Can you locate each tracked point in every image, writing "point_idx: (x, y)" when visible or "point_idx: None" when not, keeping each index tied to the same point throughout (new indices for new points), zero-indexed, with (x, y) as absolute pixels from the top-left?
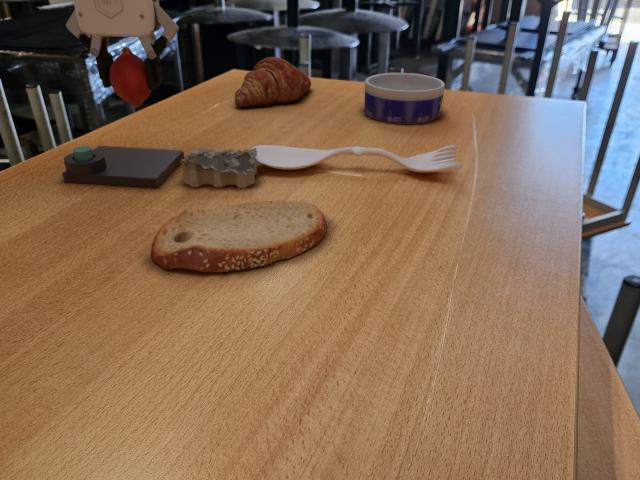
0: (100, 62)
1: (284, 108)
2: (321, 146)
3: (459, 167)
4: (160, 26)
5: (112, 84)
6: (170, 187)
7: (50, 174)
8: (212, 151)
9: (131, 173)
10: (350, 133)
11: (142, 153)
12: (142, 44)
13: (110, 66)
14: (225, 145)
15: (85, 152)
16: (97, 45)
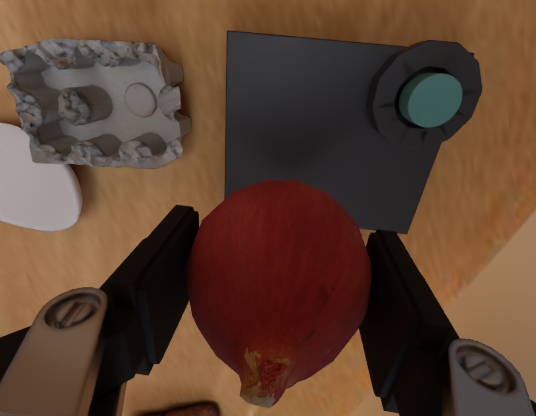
0: (424, 302)
1: (148, 400)
2: (26, 265)
3: None
4: None
5: (348, 216)
6: (205, 43)
7: (502, 105)
8: (134, 165)
9: (295, 63)
10: (12, 314)
11: None
12: (80, 373)
13: (375, 325)
14: None
15: (421, 79)
16: (476, 411)
